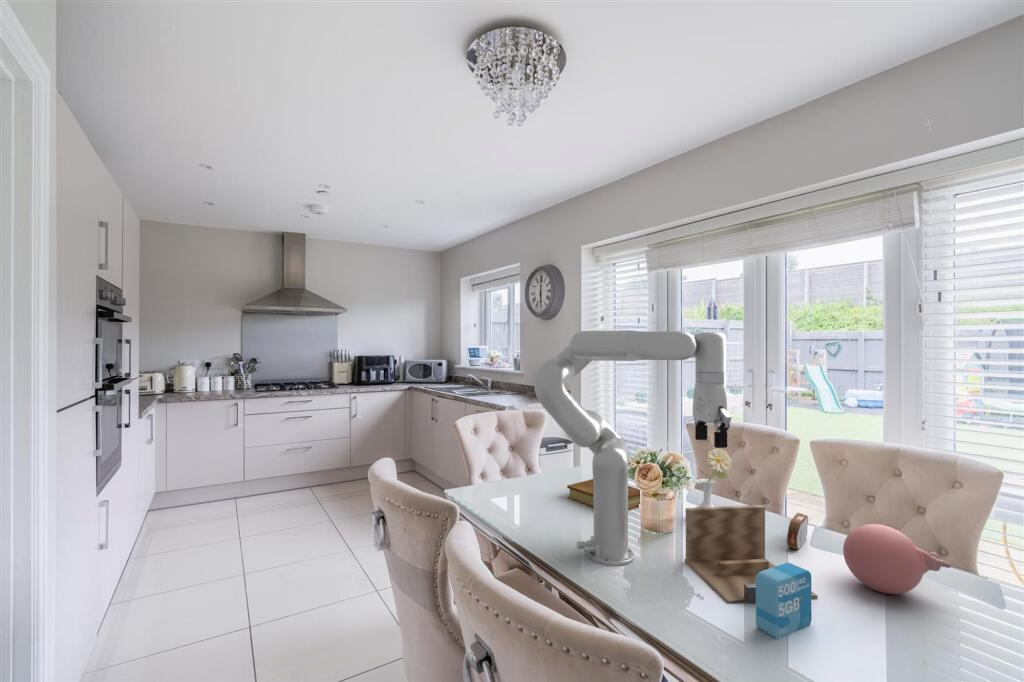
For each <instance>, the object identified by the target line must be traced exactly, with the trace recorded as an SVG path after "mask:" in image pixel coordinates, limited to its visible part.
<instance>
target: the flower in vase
mask: <svg viewBox="0 0 1024 682" xmlns="http://www.w3.org/2000/svg"><path fill="white" fill-rule="evenodd" d="M731 462H732V458H731V457H730V455H729V454H728V451H726V450H723V448H716V447H715V448H714V449H711V450H709V451H708V452H707V456H706V463H707V464H708V466H709V467H710V470H711V469H712V470H713V473H712V475H711V476H710V475H709V473H705V472H703V471H702V470H699V472H700V473H701V474H702V475H705V476H707V477H709V478H701V479H699V482H700V484H701V486H702V491H703V500H702V502H701V504H699V505H697V506H696V507H695V508H701V507H716V506H715V505H714V504H713V503H712V489H713V486H714V485H715V484H716V481H715V480H714V479H712V478H713V476H716V477H717V478H718V479H725V478H728V477H729V475H728V474H727V473H726V472H725V471H728V470H730V469H731V465H732V463H731Z"/></svg>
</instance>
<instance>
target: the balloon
mask: <svg viewBox="0 0 1024 682" xmlns="http://www.w3.org/2000/svg"><path fill="white" fill-rule="evenodd" d="M842 547H843V548H842V551H843V553H842V554H843V558H844V561H845V564H846V566H847V568H848V569H849V571H850V573H851V574H852V575H853V576H854V577H855V578H856V579H857V580H858V581H859V582H860V583H862V584H864V585H865V586H866V587H867V588H869V589H872V590H874V591H877V592H880V593H883V594H889V595H900V594H904V593H905V594H906V593H908V592H910V591H911V590H914V589H915V588H916V587H918V585H919V584H920V583H921V582H922V581H921V580H922V579H923V576H924V575H925V574H926V573H927V572H929V571H933V572H938V571H940V570H941V568H946V569H947V568H948V569H951V567H952V564H951V563H950V562H947V561H945V560H943V559H942V558H941V557H940V555H939V554H938V553H937V552H935V551H933V552H927V551H925V550H924V549H921V548H918V547H917V546H916V544H915V543H914V542H913V541H912V539H910V538H909V537H908V536H907V535H905V534H904V533H903V532H901V531H900V530H897V529H895V528H893V527H891V526H887V525H884V524H879V523H878V524H877V523H870V524H863V525H860V526H858V527H855V528H853V529H852V530H851V531H850V532H849V533H848V535H847V536H846V537H845V539H844V542H843V546H842Z"/></svg>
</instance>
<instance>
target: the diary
mask: <svg viewBox="0 0 1024 682" xmlns="http://www.w3.org/2000/svg"><path fill="white" fill-rule="evenodd" d="M566 489H569V496H568V497H567V499H568V500H571V501H574V502H576V503H579V504H581V505H585V506H587V507H589V508H592V509H594V499H593V478H592V479H587V480H584V481H580V482H575V483H571V484H568V485H567V486H566ZM640 490H641V489H640ZM640 490H639V488H636V487H633V486H630V485H628V512H629V511H632V510H636V509H639V508H640V507H639V504H640Z"/></svg>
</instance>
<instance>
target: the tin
mask: <svg viewBox="0 0 1024 682" xmlns="http://www.w3.org/2000/svg"><path fill="white" fill-rule="evenodd" d="M808 522H809V517H808V515H807V514H803V513H800V512H796V513H795V515H794V516H793V517H792V518H791V519H790V521H789V524H788V528H787V535H786V538H787V539H786V540H787V542H786V545H787V547H788V548H790V549H794V550H796V551H797V550H800V548H801V547H802V546H803V545H804V543H805V542H806V539H807V536H808Z"/></svg>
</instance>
